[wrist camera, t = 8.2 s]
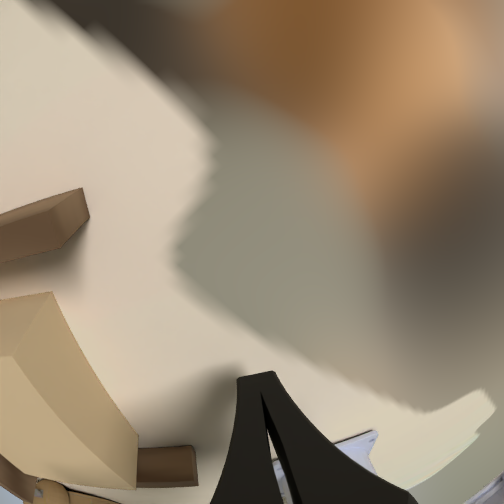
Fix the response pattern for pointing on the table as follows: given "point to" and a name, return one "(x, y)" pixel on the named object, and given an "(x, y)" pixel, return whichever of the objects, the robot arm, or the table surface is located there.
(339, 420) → the table surface
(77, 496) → the alarm clock
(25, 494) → the frame
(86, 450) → the small carton
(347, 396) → the table surface
